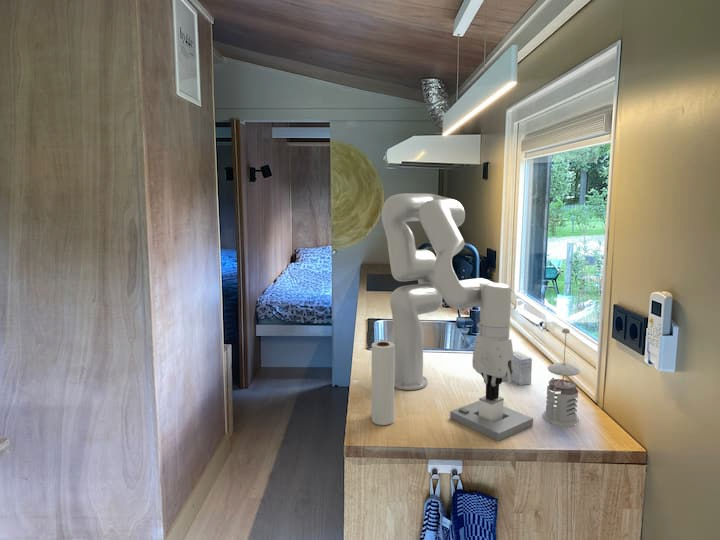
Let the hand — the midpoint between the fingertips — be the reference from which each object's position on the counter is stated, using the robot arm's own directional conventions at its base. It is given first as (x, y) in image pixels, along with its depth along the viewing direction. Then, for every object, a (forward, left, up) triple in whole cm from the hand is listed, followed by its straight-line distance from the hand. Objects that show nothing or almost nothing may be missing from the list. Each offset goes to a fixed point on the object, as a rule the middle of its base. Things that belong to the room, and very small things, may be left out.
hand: (492, 398), depth 133 cm
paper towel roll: (-18, -22, -7) cm, 29 cm away
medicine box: (-14, +31, -7) cm, 35 cm away
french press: (+10, +16, -7) cm, 20 cm away
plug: (0, 0, -6) cm, 6 cm away
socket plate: (0, 0, -7) cm, 7 cm away
